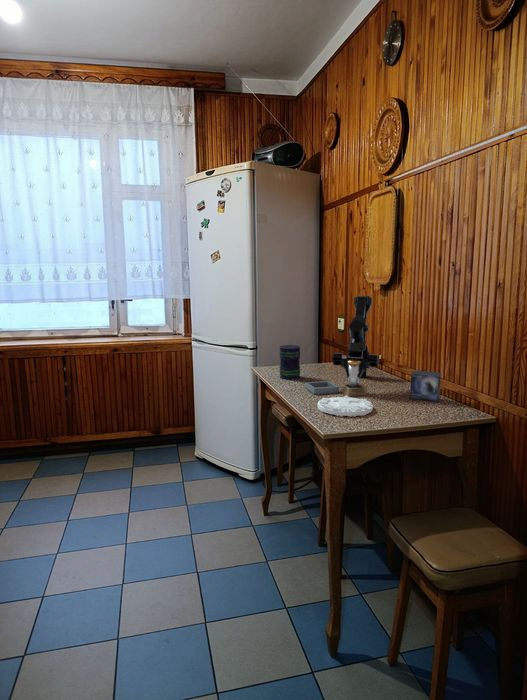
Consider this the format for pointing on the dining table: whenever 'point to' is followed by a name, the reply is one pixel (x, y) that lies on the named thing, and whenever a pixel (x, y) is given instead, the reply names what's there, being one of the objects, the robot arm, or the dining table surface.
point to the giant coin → (345, 406)
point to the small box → (425, 386)
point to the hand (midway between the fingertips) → (353, 376)
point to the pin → (353, 373)
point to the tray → (321, 387)
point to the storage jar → (289, 362)
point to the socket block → (353, 390)
